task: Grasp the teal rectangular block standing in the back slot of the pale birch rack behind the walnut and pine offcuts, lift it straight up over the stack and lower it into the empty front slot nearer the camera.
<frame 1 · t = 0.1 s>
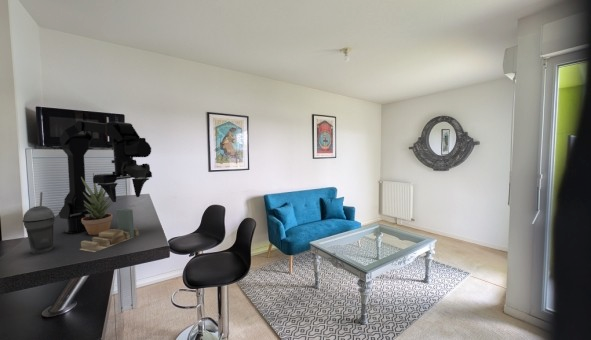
hand: (126, 199, 93), 15 cm above the table, fingers open, 9 cm apart
teal rectangular block: (126, 236, 93), point 1 cm above the table, touching birch rack
beverage cup: (43, 254, 81), on the table
pine offcut: (111, 236, 87), point 3 cm above the table, touching walnut offcut
walnut offcut: (111, 241, 88), point 1 cm above the table, touching birch rack, pine offcut
potted plant: (99, 235, 98), on the table
birch rack: (112, 244, 88), on the table
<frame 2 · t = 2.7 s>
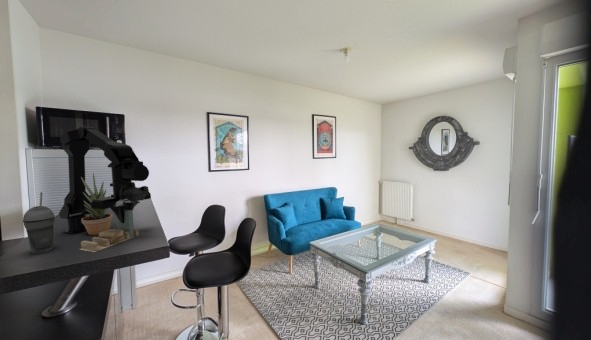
hand: (125, 222, 92), 7 cm above the table, fingers closed on teal rectangular block, 1 cm apart
teal rectangular block: (126, 236, 93), point 1 cm above the table, touching birch rack, gripper
everything else where it was.
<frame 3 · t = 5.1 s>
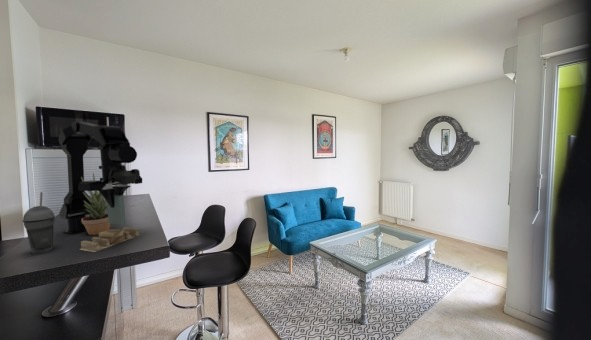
hand: (115, 206, 88), 13 cm above the table, fingers closed on teal rectangular block
teal rectangular block: (117, 223, 89), point 7 cm above the table, touching gripper
everything else where it was.
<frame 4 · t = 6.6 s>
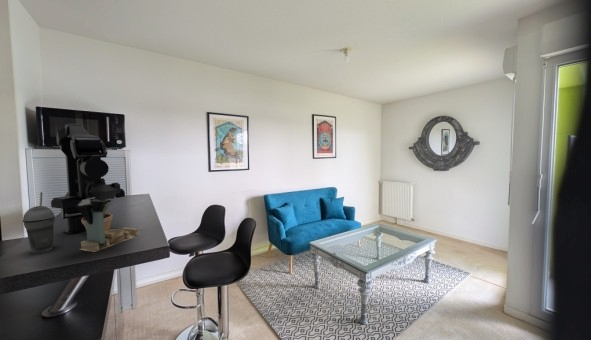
hand: (93, 223, 82), 9 cm above the table, fingers closed on teal rectangular block, 1 cm apart
teal rectangular block: (96, 241, 82), point 3 cm above the table, touching gripper
everything else where it was.
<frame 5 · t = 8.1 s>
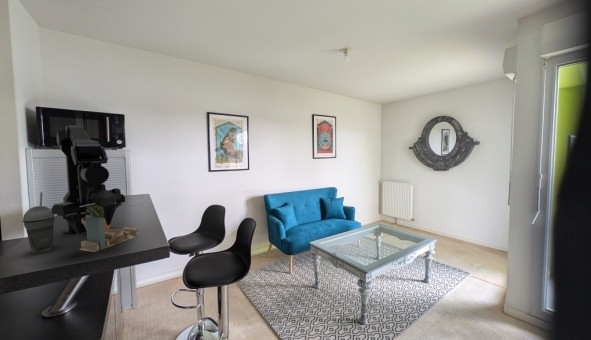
hand: (94, 229, 82), 7 cm above the table, fingers open, 9 cm apart
teal rectangular block: (96, 247, 83), point 1 cm above the table, touching birch rack
everything else where it was.
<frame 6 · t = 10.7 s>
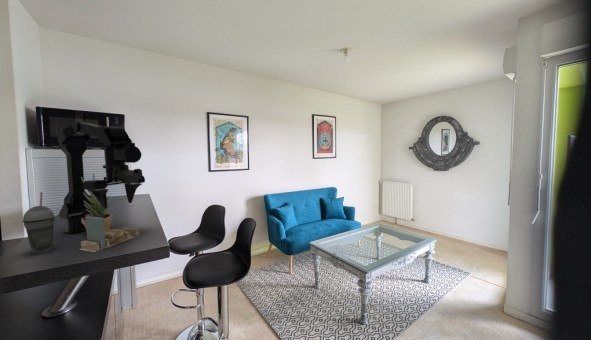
hand: (118, 205, 91), 13 cm above the table, fingers open, 9 cm apart
nothing on the table moved.
at the end: teal rectangular block 0.4 cm from the target spot on the birch rack, point 1.2 cm above the birch rack's base; teal rectangular block tilted 0°; pine offcut moved 0.0 cm from its start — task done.
